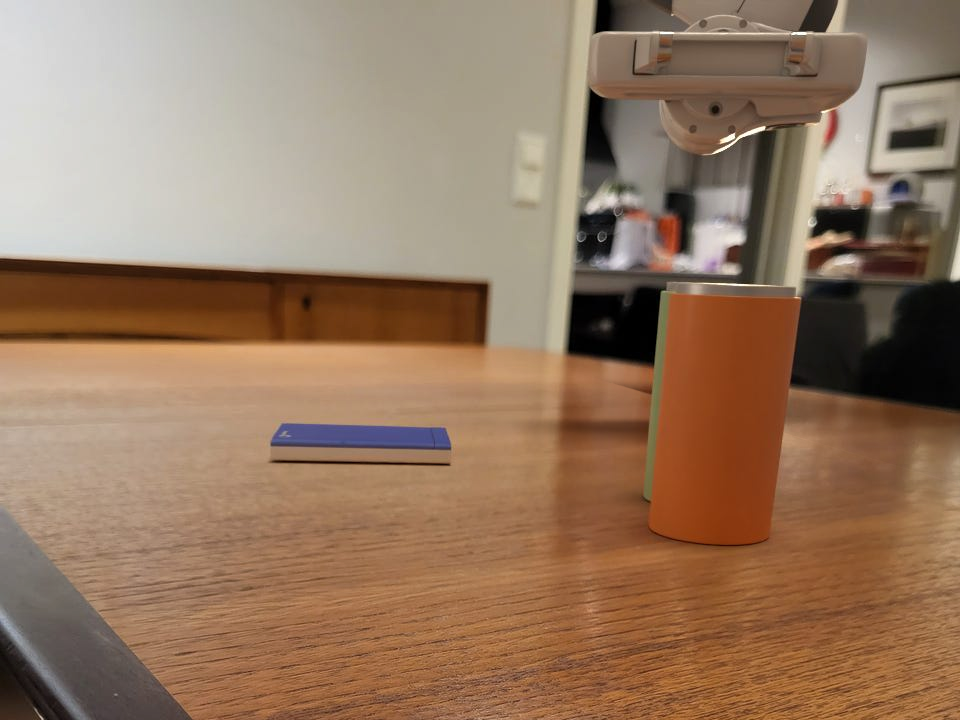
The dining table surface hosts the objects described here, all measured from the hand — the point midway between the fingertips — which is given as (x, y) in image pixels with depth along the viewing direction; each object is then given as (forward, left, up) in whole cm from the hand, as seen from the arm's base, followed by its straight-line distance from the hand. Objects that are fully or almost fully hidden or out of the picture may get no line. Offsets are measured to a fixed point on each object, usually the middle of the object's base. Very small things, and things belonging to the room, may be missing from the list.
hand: (731, 44), depth 69 cm
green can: (+8, +17, -28) cm, 34 cm away
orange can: (+11, +24, -28) cm, 38 cm away
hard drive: (+26, -1, -28) cm, 38 cm away
